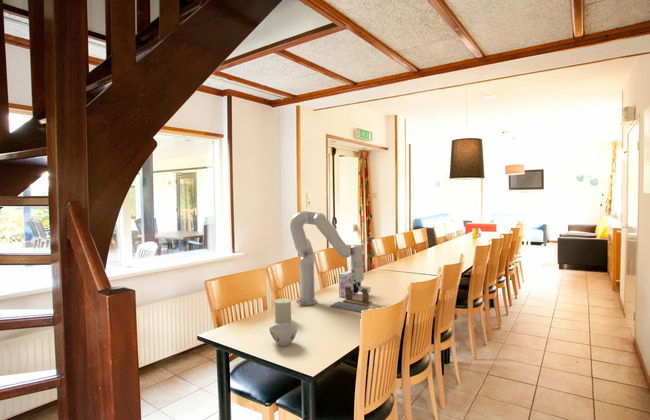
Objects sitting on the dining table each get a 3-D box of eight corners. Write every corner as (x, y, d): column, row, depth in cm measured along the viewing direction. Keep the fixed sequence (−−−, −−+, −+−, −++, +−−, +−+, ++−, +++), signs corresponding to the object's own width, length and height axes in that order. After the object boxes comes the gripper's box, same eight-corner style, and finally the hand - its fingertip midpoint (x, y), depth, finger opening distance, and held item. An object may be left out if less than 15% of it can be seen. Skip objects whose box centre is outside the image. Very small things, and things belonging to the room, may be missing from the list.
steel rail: (368, 293, 228) (368, 288, 228) (343, 289, 238) (343, 284, 238) (370, 291, 231) (370, 287, 231) (346, 288, 241) (346, 283, 240)
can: (276, 324, 197) (275, 303, 197) (273, 319, 206) (273, 298, 206) (292, 322, 200) (292, 301, 199) (289, 317, 209) (289, 297, 208)
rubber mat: (360, 312, 215) (360, 311, 215) (329, 306, 227) (329, 305, 227) (368, 307, 224) (368, 306, 224) (338, 302, 236) (338, 301, 236)
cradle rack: (366, 306, 227) (366, 290, 226) (342, 302, 236) (342, 287, 236) (371, 303, 234) (371, 287, 233) (348, 299, 243) (348, 284, 242)
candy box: (346, 298, 245) (345, 274, 244) (338, 297, 249) (338, 273, 248) (356, 293, 256) (356, 270, 255) (349, 292, 260) (349, 269, 259)
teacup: (302, 341, 174) (302, 325, 174) (286, 351, 163) (286, 334, 163) (278, 335, 182) (277, 320, 181) (261, 344, 171) (261, 328, 171)
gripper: (356, 266, 225) (356, 295, 226) (367, 262, 239) (367, 289, 239) (345, 265, 229) (345, 294, 230) (357, 261, 243) (357, 288, 243)
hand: (357, 291), depth 235 cm, fingers closed on steel rail, 3 cm apart
